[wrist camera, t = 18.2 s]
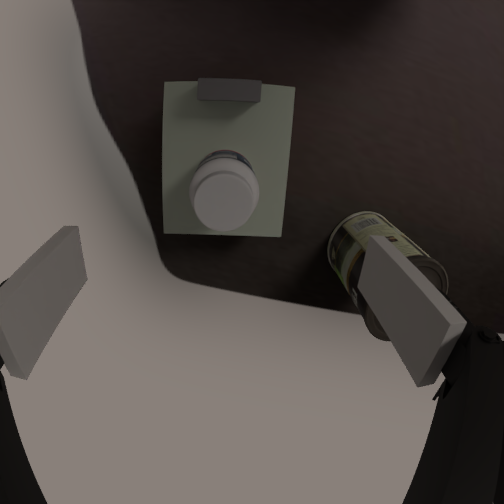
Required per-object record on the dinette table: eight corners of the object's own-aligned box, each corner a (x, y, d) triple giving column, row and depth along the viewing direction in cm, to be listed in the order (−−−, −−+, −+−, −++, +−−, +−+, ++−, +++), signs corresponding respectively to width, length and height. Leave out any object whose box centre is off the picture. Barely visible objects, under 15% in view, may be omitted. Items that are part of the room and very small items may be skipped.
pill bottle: (257, 199, 29) (268, 236, 21) (202, 208, 29) (192, 247, 21) (249, 144, 27) (258, 159, 19) (191, 153, 27) (176, 173, 19)
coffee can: (353, 290, 45) (391, 355, 32) (312, 246, 41) (346, 308, 28) (405, 246, 42) (459, 298, 29) (370, 195, 38) (428, 238, 26)
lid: (166, 82, 25) (157, 78, 21) (293, 87, 26) (302, 84, 22) (165, 230, 31) (157, 246, 27) (279, 233, 32) (286, 249, 29)
